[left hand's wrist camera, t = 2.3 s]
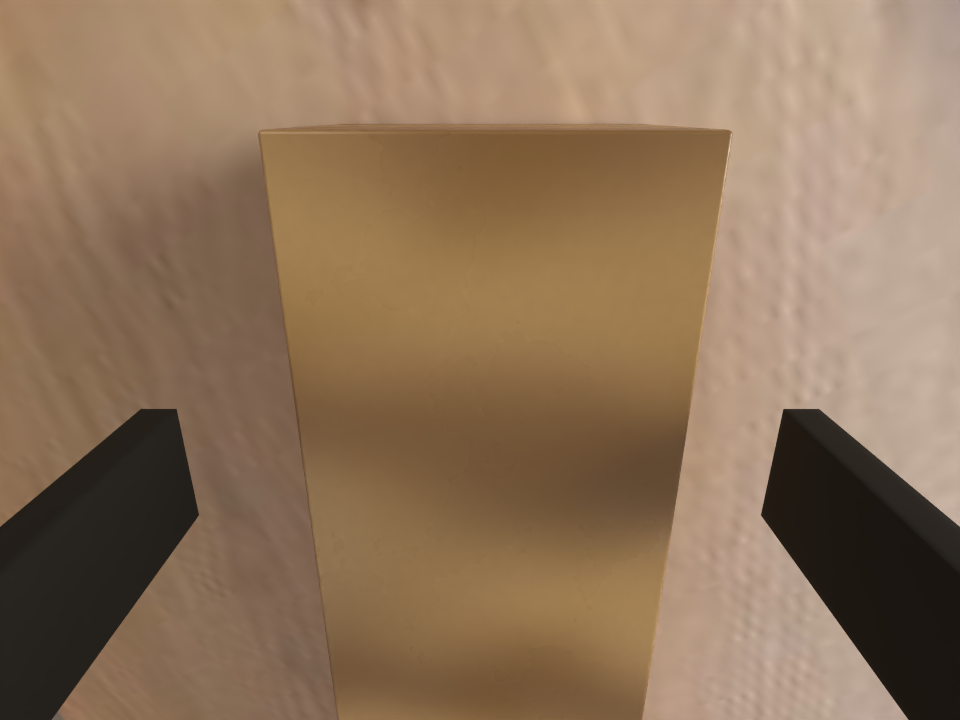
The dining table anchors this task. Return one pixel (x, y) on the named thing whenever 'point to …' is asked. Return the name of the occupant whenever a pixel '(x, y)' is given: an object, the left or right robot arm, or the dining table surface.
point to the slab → (492, 400)
